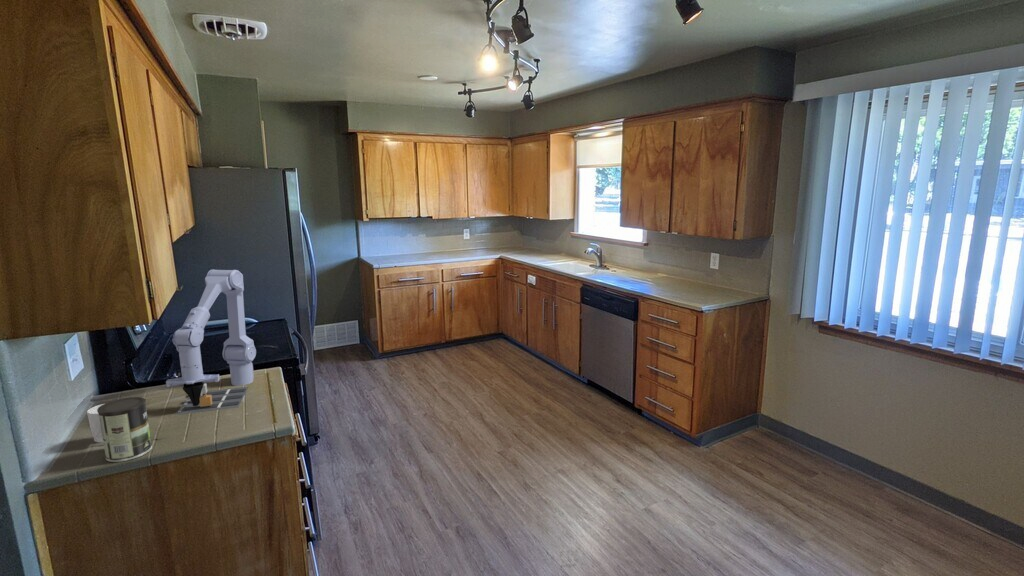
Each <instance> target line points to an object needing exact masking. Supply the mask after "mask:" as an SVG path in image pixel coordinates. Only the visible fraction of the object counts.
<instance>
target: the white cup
mask: <svg viewBox="0 0 1024 576" xmlns="http://www.w3.org/2000/svg"><path fill="white" fill-rule="evenodd" d="M104 404H105V403H101V404H98V405H95V406H93V407H91V408H89V409H88V410H86V414H87V418H88V423H89V426H90V432H91V434H92V438H93V440H94V442H95V443H98V444H99V443H103V437H102V431H101V425H100V419H99V413H98V412H97V409H98V408H99V407H100V406H102V405H104Z"/></svg>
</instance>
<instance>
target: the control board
mask: <svg viewBox="0 0 1024 576" xmlns="http://www.w3.org/2000/svg"><path fill="white" fill-rule="evenodd" d="M248 389H249V386H243V387H242V386H241V387H233V388H225V389H215V390H207V393H206V394H207V395H212V405H211V406H203V407H200V401H199V405H198V406H193V404H192V402H191V400H190V398H189V396H188V397H187V398H186V399H185V400H184V402H183V403H182V404H181V406H179V409H177V410H176V412H175V414H174V416H176V415H184V414H193V413H194V414H195V413H203V412H211V411H217V410H218V411H220V410H229V409H235V408H236V409H237V408H239V406H240V405H241V403H242V401H243V399H244V398H245V395H246V393H247V390H248ZM202 395H203V396H204V395H205V394H202Z"/></svg>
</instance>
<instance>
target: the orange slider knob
mask: <svg viewBox="0 0 1024 576" xmlns="http://www.w3.org/2000/svg"><path fill="white" fill-rule="evenodd" d="M199 399H200V407H203V406H211V405H212V395H207V394H205V395H204V396H201V397H200V398H199Z"/></svg>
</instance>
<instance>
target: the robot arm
mask: <svg viewBox="0 0 1024 576" xmlns="http://www.w3.org/2000/svg"><path fill="white" fill-rule="evenodd" d="M204 283H205V287H204V290H203V292H202V295H201V297H200V300H199V302H198V304H197V305H196V307H193V308H191V310H190V311H189V313H188V315H187V317H186V319H185V320H184V322H183V324H182V326H181V328H180V327H179V328H178V329H177V330H175V332H174V333H173V336H172V339H171V340H172V341H171V342H172V343H173V345H174V347H176V351H177V352H178V356H179V365H180V370H181V376H180V377H175V378H170V379H169V378H168V379H166V381H165V384H166V385H165V386H166V388H170V387H175V386H183V387H182V391H184V393H186V395H187V396H188V397H189V398H190V400H191V402H192V404H193V406H198V405H199V401H200V399H199V398H200V394H201V391H202V388H203V385H204V384H206V383H213V382H214V383H218V382H219V381H220V380H221V379H220V378H221V377H220V374H219V373H218V374H204V370H203V362H202V354H201V353H202V352H201V344H202V343H203V341H204V337H205V336H204V333H205V327H206V325H207V323H208V321H209V320H210V318H211V314H210V309H211V307H212V306H213V304H214V303H215V301H216V300H217V299H218V296H219V295H220V294H221V293H223V294H224V295H226V307H227V323H228V336H229V337H228V338H227V339H225V341H224V342H223V349H222V351H221V352H222V358H223V360H224V361H226V364H228V365H229V372H230V383H231V385H232V386H239V387H240V386H245V385H249V384H251V383H253V382H254V377H255V375H254V364H253V361H254V359H255V358H256V355H257V349H256V347H255V343H254V340H253V338H250V337H249V336H248V335H247V331H246V321H245V320H246V319H245V318H246V317H245V303H244V302H245V301H244V291H245V287H244V275H243V273H241V271H239V270H238V269H227V270H226V269H213V268H212V269H210V270H208V272H207V273H206V276H205V278H204Z"/></svg>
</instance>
